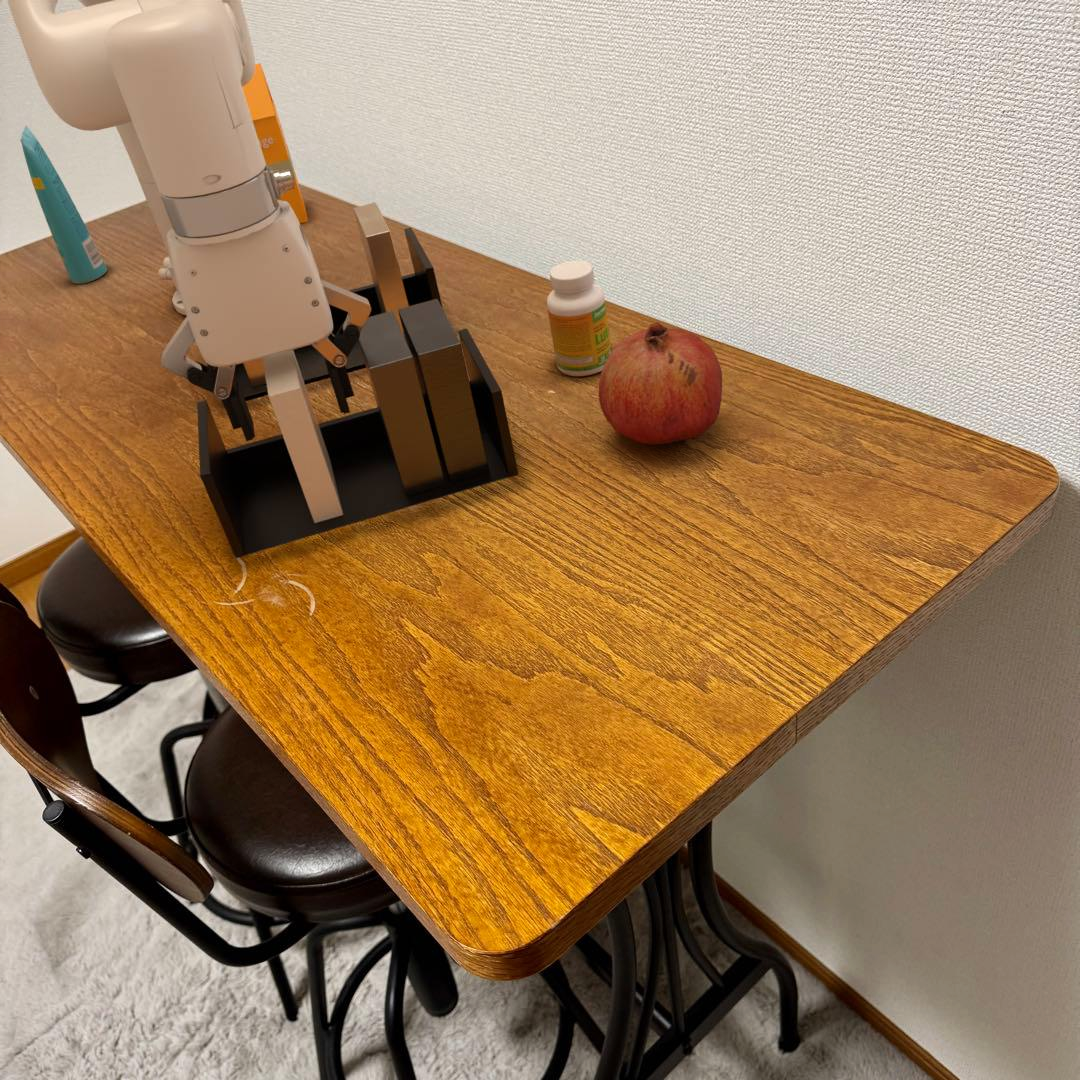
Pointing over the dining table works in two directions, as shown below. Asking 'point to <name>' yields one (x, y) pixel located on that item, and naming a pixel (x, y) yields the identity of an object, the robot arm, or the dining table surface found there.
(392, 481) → the black rack
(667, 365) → the fruit
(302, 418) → the long flat cream plank
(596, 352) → the supplement bottle
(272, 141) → the orange juice
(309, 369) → the brown and black frame
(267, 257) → the robot arm
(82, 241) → the tube
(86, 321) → the dining table surface
